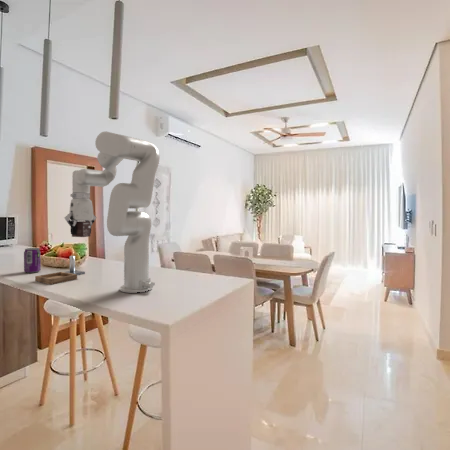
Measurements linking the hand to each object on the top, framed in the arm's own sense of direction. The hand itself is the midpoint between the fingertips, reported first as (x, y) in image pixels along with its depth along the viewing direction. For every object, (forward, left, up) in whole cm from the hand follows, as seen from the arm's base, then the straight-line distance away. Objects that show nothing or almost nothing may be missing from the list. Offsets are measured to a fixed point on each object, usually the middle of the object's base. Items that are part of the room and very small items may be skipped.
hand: (81, 233), depth 147 cm
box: (0, 0, -2) cm, 2 cm away
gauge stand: (+8, 0, -21) cm, 22 cm away
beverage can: (+29, +7, -21) cm, 36 cm away
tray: (+2, +12, -21) cm, 24 cm away
